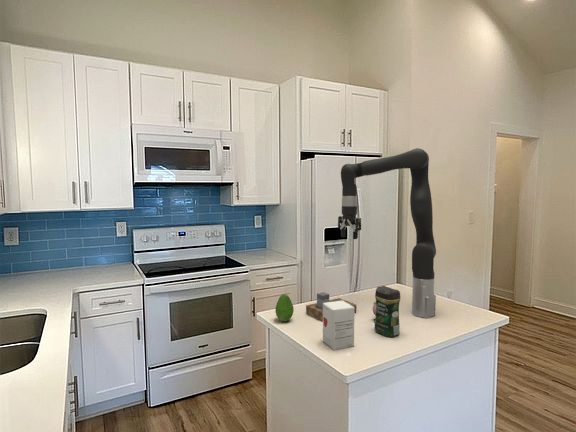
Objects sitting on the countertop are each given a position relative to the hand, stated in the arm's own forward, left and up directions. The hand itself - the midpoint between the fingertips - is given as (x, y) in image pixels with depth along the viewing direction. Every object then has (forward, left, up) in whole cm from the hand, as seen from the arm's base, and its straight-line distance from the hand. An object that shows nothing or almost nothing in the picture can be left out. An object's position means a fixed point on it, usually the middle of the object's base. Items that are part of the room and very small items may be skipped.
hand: (349, 238), depth 185 cm
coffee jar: (-36, +12, -33) cm, 50 cm away
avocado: (-2, +39, -33) cm, 51 cm away
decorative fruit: (-26, +3, -33) cm, 42 cm away
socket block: (-6, +16, -33) cm, 37 cm away
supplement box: (-33, +35, -33) cm, 59 cm away
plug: (-6, +21, -33) cm, 40 cm away
